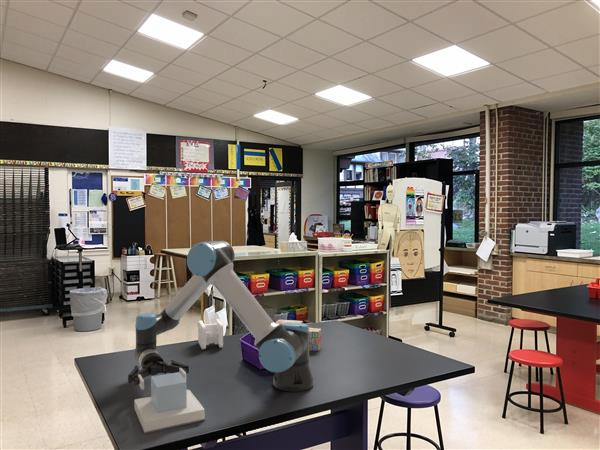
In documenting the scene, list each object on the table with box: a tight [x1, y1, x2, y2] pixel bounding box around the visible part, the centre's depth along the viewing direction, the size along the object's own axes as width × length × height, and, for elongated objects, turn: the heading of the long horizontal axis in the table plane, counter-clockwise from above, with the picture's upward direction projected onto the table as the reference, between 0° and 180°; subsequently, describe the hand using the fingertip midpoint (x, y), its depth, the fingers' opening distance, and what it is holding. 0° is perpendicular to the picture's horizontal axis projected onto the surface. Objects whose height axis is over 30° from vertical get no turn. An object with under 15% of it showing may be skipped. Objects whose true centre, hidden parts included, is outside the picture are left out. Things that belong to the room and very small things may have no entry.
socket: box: [134, 389, 206, 434], centre depth 147 cm, size 18×18×4 cm
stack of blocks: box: [274, 319, 322, 352], centre depth 219 cm, size 21×6×12 cm, turn 73°
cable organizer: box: [197, 318, 224, 350], centre depth 221 cm, size 15×11×12 cm
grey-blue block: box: [150, 372, 188, 413], centre depth 147 cm, size 10×9×10 cm
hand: (164, 381), depth 150 cm, fingers open, 13 cm apart
